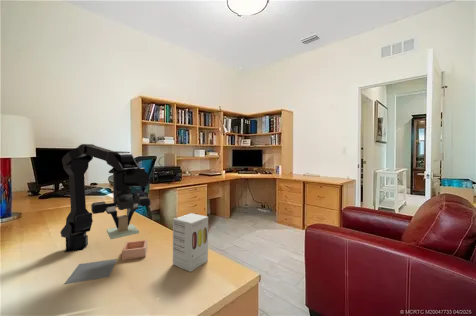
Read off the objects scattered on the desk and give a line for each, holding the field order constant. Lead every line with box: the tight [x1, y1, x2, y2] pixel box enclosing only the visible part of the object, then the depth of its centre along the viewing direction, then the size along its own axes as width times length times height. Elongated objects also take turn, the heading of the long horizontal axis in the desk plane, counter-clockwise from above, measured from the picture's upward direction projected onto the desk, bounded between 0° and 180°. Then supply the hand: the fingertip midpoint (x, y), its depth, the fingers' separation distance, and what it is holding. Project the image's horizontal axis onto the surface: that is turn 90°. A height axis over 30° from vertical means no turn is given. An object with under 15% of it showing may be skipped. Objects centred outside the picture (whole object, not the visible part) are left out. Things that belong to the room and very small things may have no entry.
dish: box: [121, 239, 148, 261], centre depth 83 cm, size 8×8×4 cm
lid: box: [106, 214, 140, 240], centre depth 79 cm, size 9×9×6 cm
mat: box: [63, 258, 118, 285], centre depth 72 cm, size 12×12×1 cm
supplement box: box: [172, 212, 209, 273], centre depth 78 cm, size 10×9×17 cm
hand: (122, 227), depth 79 cm, fingers closed on lid, 3 cm apart
